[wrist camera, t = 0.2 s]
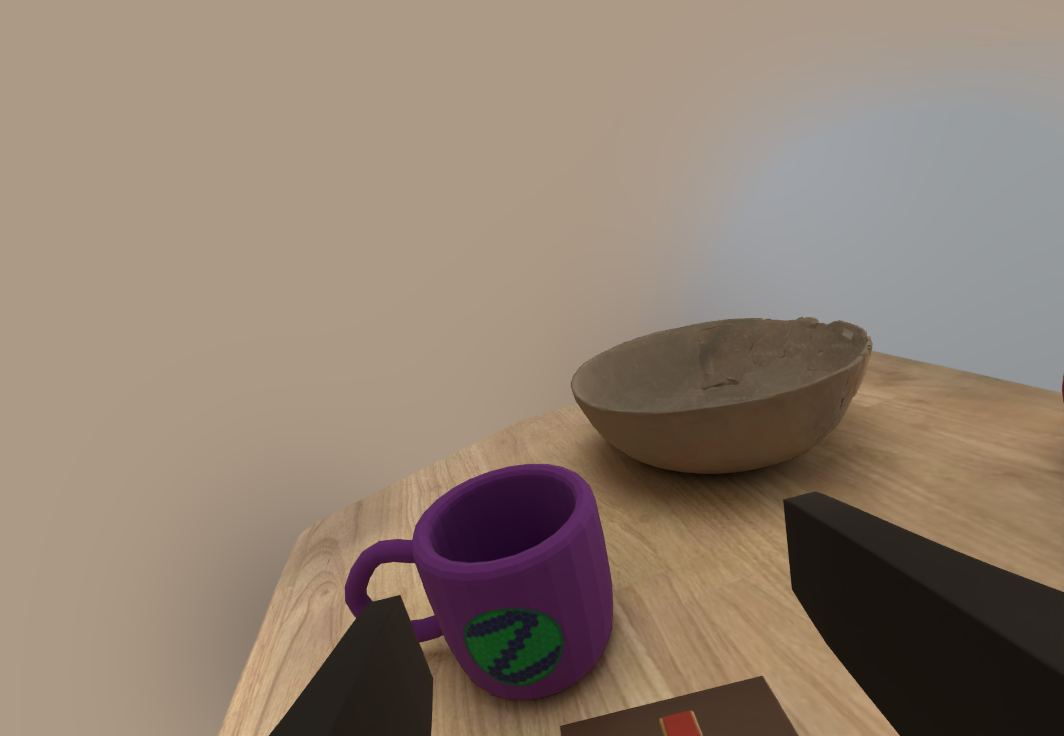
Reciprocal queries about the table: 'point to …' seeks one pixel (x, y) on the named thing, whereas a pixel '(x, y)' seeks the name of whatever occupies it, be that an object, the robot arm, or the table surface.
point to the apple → (1063, 388)
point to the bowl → (724, 391)
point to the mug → (509, 578)
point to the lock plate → (699, 714)
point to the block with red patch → (680, 725)
